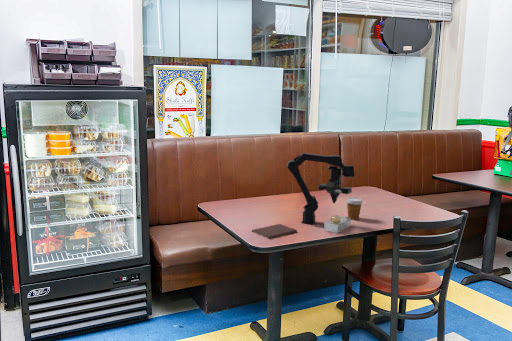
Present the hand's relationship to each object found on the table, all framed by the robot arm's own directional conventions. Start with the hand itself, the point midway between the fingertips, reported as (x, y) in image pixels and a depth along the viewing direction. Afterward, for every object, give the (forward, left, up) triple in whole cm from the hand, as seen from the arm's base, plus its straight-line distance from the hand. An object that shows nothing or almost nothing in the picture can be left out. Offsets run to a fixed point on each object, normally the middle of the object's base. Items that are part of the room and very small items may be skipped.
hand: (334, 203), depth 279 cm
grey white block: (+6, -7, -12) cm, 15 cm away
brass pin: (+6, -10, -12) cm, 16 cm away
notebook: (-19, -35, -13) cm, 42 cm away
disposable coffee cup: (+6, +16, -12) cm, 21 cm away
